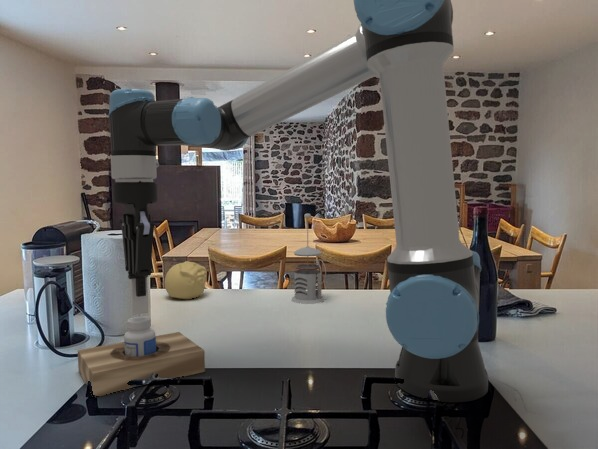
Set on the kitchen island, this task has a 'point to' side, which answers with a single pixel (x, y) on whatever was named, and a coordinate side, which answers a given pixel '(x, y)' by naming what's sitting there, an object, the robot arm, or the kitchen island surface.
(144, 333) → the pill bottle
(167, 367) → the board
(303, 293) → the french press
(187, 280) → the sculpture
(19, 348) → the kitchen island surface
